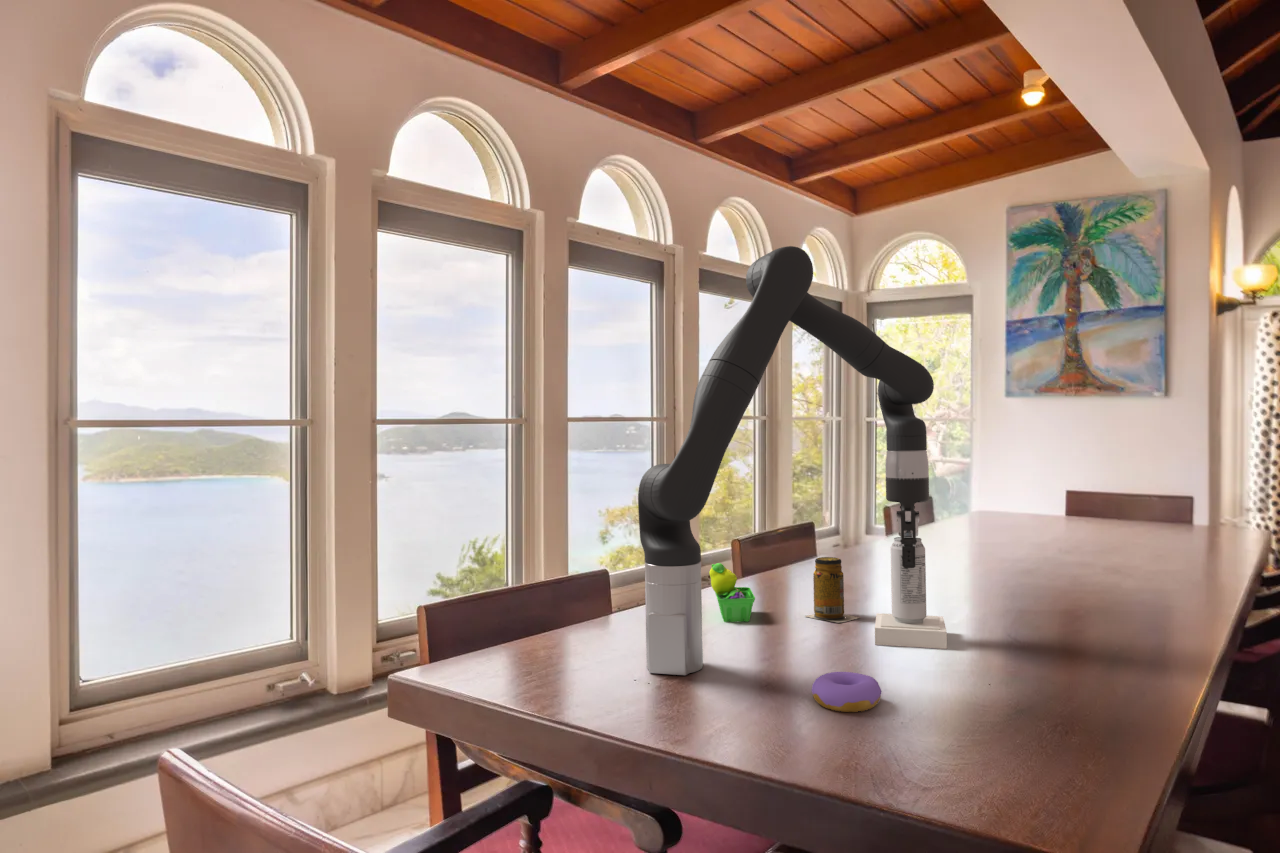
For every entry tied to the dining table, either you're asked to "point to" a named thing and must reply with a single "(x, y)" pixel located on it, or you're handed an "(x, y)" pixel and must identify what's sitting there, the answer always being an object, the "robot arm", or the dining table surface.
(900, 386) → the robot arm
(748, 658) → the dining table surface
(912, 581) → the energy drink can
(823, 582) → the condiment
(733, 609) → the fruit basket
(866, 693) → the donut
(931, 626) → the beige rectangular box
